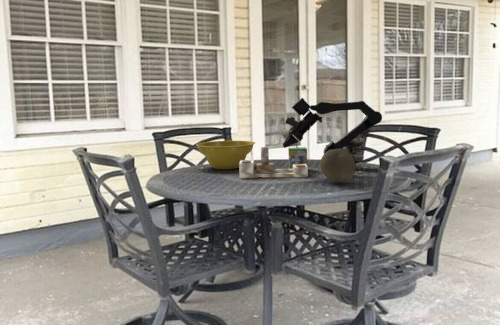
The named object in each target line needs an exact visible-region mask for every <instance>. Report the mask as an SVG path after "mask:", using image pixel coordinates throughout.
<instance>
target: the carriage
mask: <svg viewBox="0 0 500 325" xmlns="http://www.w3.org/2000/svg"><path fill="white" fill-rule="evenodd" d="M269 153H270V152H269V146H261V147H260V162H257V163H256V164H255V165H256V167H255V168H256V170H274V169H275V168H274V162H269V161H270V158H269V155H270V154H269Z"/></svg>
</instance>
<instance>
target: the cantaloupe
mask: <svg viewBox="0 0 500 325" xmlns="http://www.w3.org/2000/svg"><path fill="white" fill-rule="evenodd" d="M320 168H321V171H322V174H323V175H324V177H326V178H327V179H328V180H329V181H330V182H332V183H335V184H339V185H340V184H345V183H347V182H350V181H351V180H352V178H353V177H354V173H355V171H356V170H355V162H354V160H353V158H352V155H351V154H350V153H349V152H348V151H346V150H344V149H332V150H329V151H327V152H326V153H325V154H324V153H323V155H322V157H321V158H320Z"/></svg>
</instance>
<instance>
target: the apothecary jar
mask: <svg viewBox="0 0 500 325" xmlns="http://www.w3.org/2000/svg"><path fill="white" fill-rule="evenodd" d="M347 133H348V132H346V133H343V134H342V137H344V136H345V135H346V134H347ZM364 143H365V142H364V138H362V135H361V134H360V135H358V136H357V137H356V138H355V139H353V140H352V141H351V142H350V143H348V144H347V145H346V146H345V147H343V149H344V150H346V151H348V152H349V153H350V154H351V155H352V158H353V160H354V162H355V171H356V170H357V171H358V170H362V166H359V165H357V164H359V163H361V162H362V161H364V159H365V157H364V155H363V153H362V145H363V144H364Z"/></svg>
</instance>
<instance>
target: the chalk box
mask: <svg viewBox="0 0 500 325" xmlns="http://www.w3.org/2000/svg"><path fill="white" fill-rule="evenodd" d="M295 146H296V147H287V148H288V169H293V164H306V165H307V167H308V168H309V166H308V148H307V147H305V146H304V147H303V146H301V147H300V146H298V144H297V143H295Z"/></svg>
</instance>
